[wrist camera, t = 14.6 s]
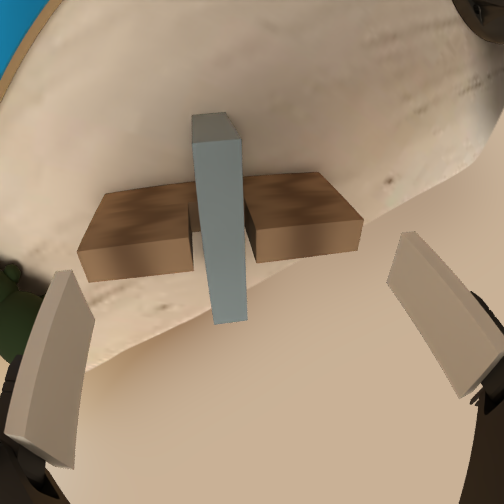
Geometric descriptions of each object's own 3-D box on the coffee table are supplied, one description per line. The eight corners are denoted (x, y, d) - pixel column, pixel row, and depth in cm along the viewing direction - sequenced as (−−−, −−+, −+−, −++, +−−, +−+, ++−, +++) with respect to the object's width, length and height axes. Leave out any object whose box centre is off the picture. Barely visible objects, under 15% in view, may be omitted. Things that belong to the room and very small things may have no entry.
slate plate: (191, 115, 25) (191, 143, 17) (224, 112, 26) (241, 139, 18) (206, 257, 35) (214, 324, 27) (232, 254, 35) (247, 320, 27)
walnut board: (318, 172, 31) (363, 219, 23) (316, 197, 33) (357, 250, 25) (104, 194, 28) (76, 251, 20) (111, 219, 30) (88, 282, 22)
